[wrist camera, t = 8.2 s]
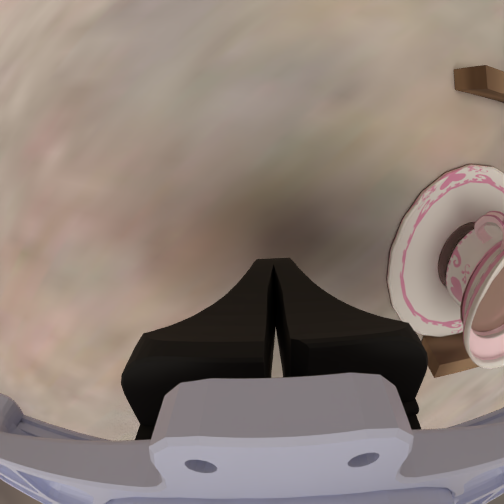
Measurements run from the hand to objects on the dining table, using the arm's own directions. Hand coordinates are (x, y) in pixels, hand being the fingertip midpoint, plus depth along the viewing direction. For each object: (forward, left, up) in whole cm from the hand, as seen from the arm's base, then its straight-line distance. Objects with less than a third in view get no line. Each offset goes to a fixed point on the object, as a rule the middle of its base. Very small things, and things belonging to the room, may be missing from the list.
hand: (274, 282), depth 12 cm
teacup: (+13, -2, -5) cm, 14 cm away
